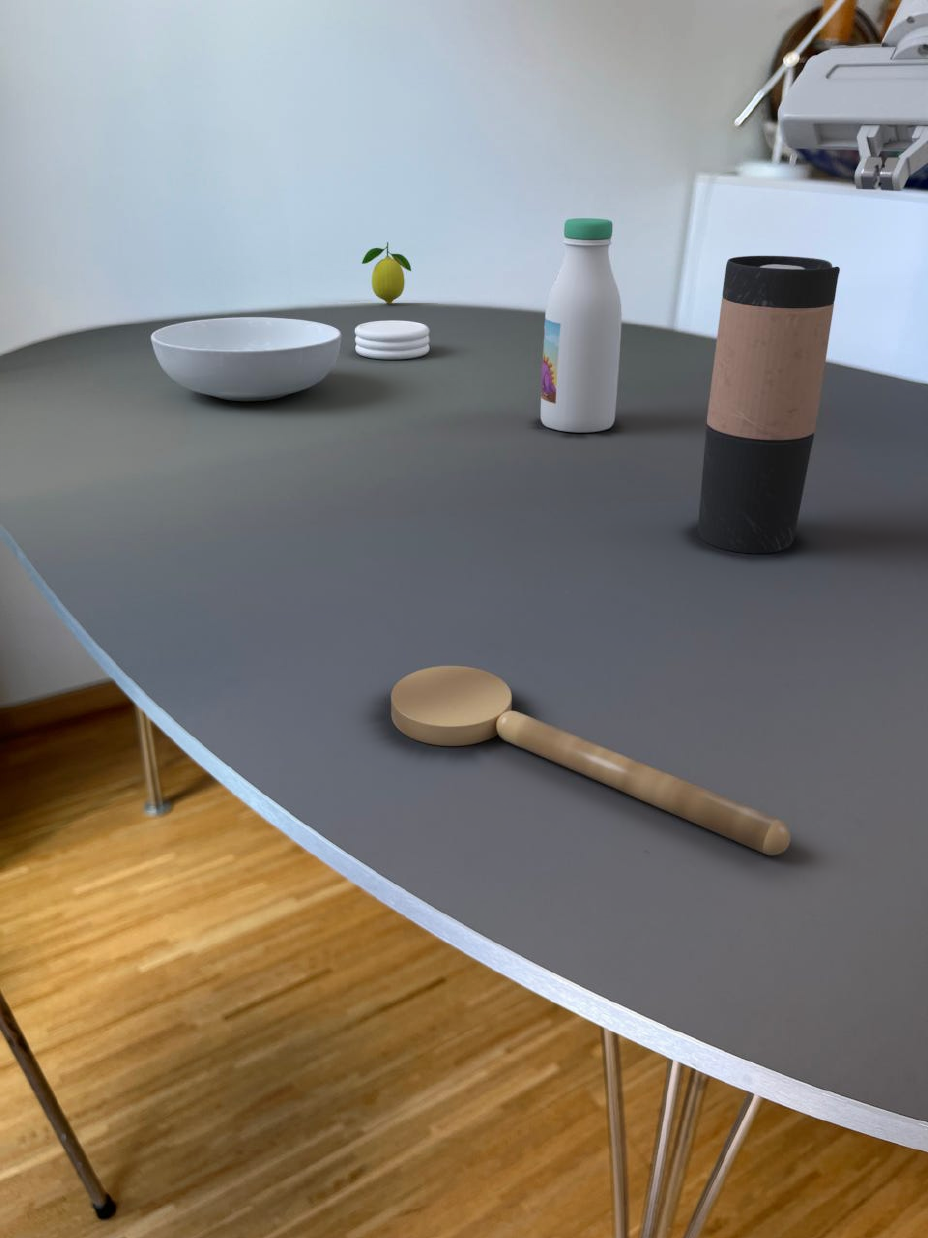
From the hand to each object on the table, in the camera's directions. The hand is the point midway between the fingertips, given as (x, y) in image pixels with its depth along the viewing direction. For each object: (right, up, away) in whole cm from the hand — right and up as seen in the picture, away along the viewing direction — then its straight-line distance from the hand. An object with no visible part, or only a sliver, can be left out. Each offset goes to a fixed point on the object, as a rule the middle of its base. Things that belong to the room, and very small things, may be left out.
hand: (876, 184), depth 78 cm
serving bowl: (-56, -7, +40) cm, 69 cm away
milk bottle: (-20, -13, +29) cm, 37 cm away
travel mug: (-10, -27, +1) cm, 29 cm away
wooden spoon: (-27, -40, -27) cm, 55 cm away
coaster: (-41, +3, +61) cm, 74 cm away
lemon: (-44, +20, +97) cm, 109 cm away
